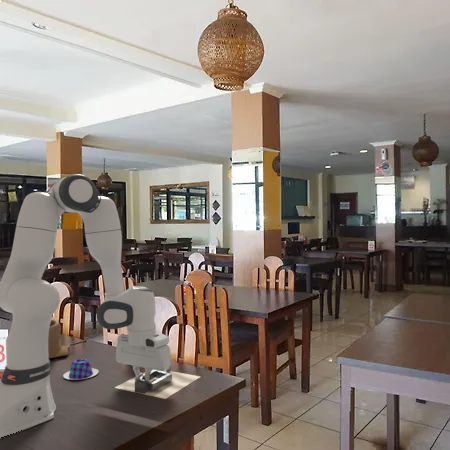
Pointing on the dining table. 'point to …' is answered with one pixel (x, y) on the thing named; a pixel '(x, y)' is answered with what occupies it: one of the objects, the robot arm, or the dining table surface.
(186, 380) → the board
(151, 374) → the steel link
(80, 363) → the plaid fedora hat
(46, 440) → the dining table surface
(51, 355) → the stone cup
